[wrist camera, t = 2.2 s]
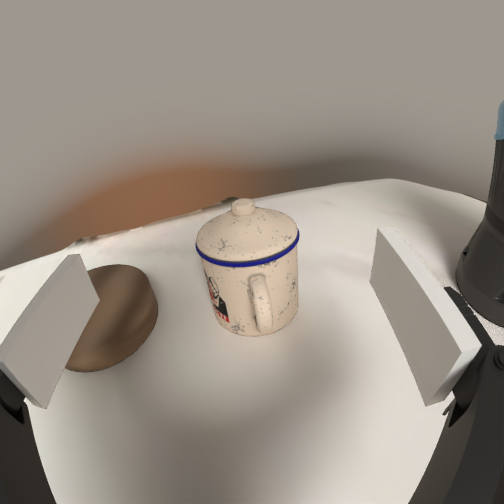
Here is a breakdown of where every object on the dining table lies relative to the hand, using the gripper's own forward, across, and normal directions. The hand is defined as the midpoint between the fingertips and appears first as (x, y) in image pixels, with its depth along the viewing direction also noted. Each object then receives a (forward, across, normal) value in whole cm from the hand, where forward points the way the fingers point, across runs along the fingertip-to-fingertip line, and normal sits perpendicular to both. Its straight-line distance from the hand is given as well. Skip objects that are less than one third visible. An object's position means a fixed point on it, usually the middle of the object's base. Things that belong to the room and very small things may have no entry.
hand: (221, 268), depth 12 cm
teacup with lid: (+11, +1, -14) cm, 18 cm away
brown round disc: (+11, -18, -14) cm, 25 cm away
